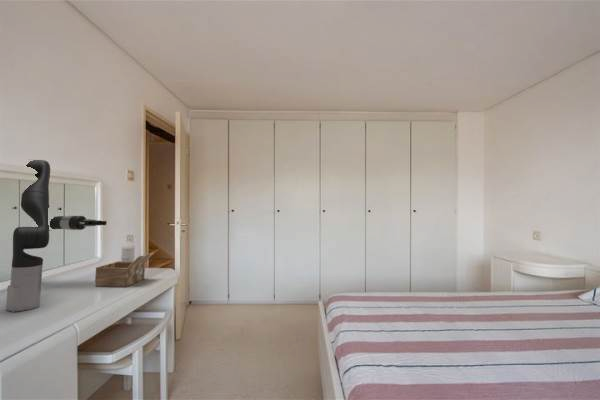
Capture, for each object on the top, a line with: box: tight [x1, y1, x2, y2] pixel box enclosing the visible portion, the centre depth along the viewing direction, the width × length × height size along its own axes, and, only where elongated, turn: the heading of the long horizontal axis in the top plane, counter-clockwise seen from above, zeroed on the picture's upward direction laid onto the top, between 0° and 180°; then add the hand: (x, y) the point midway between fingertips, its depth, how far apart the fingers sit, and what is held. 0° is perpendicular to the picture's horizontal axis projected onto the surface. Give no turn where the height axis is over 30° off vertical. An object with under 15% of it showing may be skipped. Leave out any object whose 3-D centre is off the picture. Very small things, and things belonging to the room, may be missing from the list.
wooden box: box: [94, 261, 146, 288], centre depth 157 cm, size 19×17×10 cm
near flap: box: [128, 251, 156, 268], centre depth 158 cm, size 17×8×1 cm
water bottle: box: [120, 234, 136, 262], centre depth 177 cm, size 7×7×25 cm
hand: (105, 223), depth 151 cm, fingers closed
